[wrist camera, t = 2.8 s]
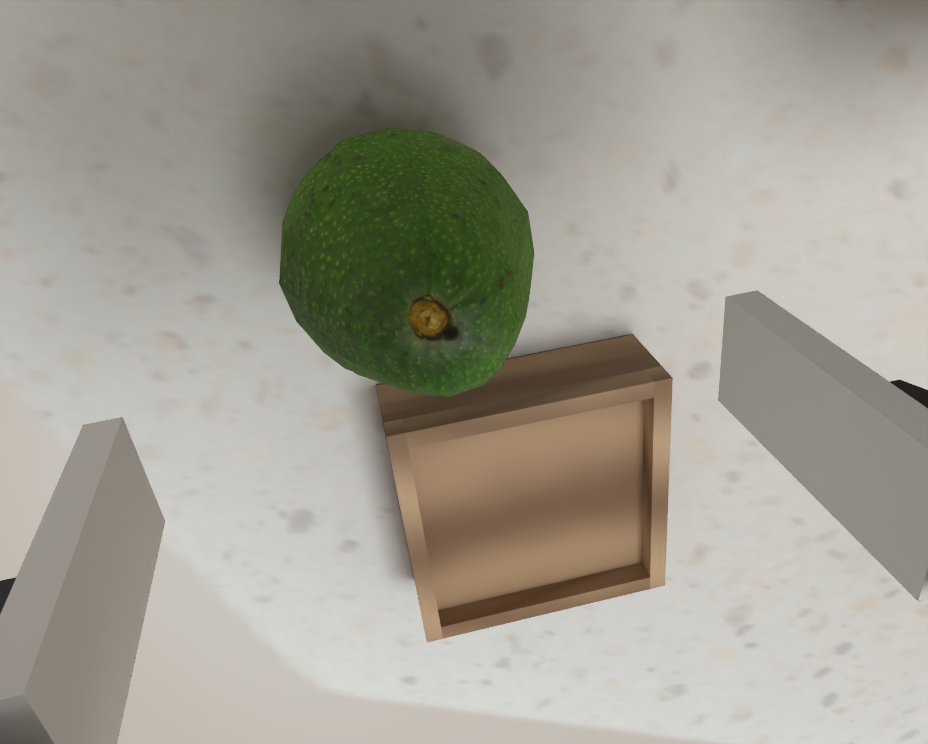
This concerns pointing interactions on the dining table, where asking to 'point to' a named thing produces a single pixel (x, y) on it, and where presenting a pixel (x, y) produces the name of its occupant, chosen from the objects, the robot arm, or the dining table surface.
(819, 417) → the robot arm
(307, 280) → the avocado
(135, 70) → the dining table surface
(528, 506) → the wooden tray
